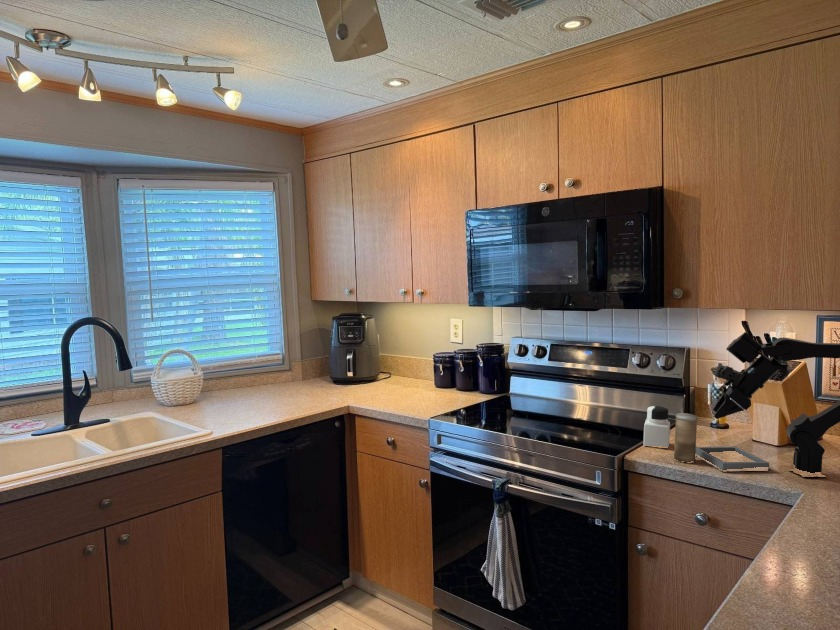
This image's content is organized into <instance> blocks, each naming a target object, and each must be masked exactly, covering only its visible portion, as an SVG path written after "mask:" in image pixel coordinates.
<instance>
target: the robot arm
mask: <svg viewBox="0 0 840 630" xmlns="http://www.w3.org/2000/svg"><path fill="white" fill-rule="evenodd" d="M725 350H726V351H728V352H729V353H730V354H732V356H734V357H735V358H736V359H737V360H738V361H740V362H741V363H742V364H745V363H748V364H750V363H751V364H750V365H749V366H748V367H747V368H744V369H742V370H740V371H738V370H736V369H734V368H733V367H732V366H731V367H730V366H729V365H723V364H720V363H719V364H718V365H717V367H716V369H715V372H714V377H715V378H718V379H723V380H725V381H724V382H723V385H722V390H723V391H722V392H723V393H722V394H721V396H720V398H719V400H717V402H716V403H715V405H714V407H713V408H712V410H713V411H714V412H715V413H714V414H713V418H714V419H715V420H718V419H721V418H724V417H728V416H729V415H733V414H736V413H739V412H743V411H747V410H748V409H749V408H751V407H752V398H753V395H754V394H755V393H756V392H757V391H758V390H759V389H763V388H764V386H765V384H766V383H767V382H768V381H769V380H771V378H773V377H774V376H775V374H777V373H778V372H779V371H780V373H782V374H783V375H785V376H786V375H787V376H788V374H789V373H788V364H787V363H781V362H780V361H785V362H790V361H801V360H805V359H812V358H813V359H814V358H818V359H819V358H820V359H821V358H822V359H840V343H836V342H835V343H834V342H833V343H831V342H829V343H828V342H810V341H805V340H801V339H795V338H790V337H785V336H784V337H783V336H782V337H778V338H776V339H775V340H774V341H773V342H768V343H761V344H760V343H758V341H756V340H755V339H754V338H752V337H751V335H750V334H749V333H747V332H746V331H744V332H743V333H742V334H741V335H739V336H738V337H737V338H735V339H734V340H732V342H731V343H729V344H728V346H727V347H726V349H725ZM761 351H762V352H764V353H765V354H766V355H769V356H770V358H769V357H767V356H766V355H765V354H763V353H762V352H761ZM759 355H760V356H759ZM775 357H776V358H777V359H778V360H777V359H776V358H775ZM779 360H780V361H779ZM839 423H840V400H838V401H837V402H835V403H833V404H832V405H830V406H829V407H826V408H825V409H823V410H822V411H820V412H818V413H817V414H815V415H811V416H810V415H809V416H807V414H806V413H805V412H803V413H802V414H800V415H799V416H798V417H796V418H795V419H790V423H789V424H788V425H787V427H786V431H785V432H786V435H787V437H788V439H789V440H790V442H791V443H792V445H794V447H795V448H794V453H793V463H792V465H793V464H794V465H795V468H797V469H799V470H802V471H807V472H810V473H815V472H822V471H823V457H824V454H825V452H826V450H825V448H824V447H823V446H822V444H821V442H819V440H821V438H822V437H823V436H825V434H826V433H827V431H828V430H829V429H830V428H832V427H834V426H836V425H838V424H839Z"/></svg>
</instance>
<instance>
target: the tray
mask: <svg viewBox="0 0 840 630" xmlns="http://www.w3.org/2000/svg"><path fill="white" fill-rule="evenodd" d="M723 451H736V452H738V453H739V454H742V455H743V456H746V457H747V458H749V459H751V460H753V461H755V462H723V461H722V460H720V459H718V458H716V457H714V456H712V455H711V454H709V453H710V452H723ZM695 454H697V455H699V456H700V457H702V458H704V459H705V460H707V461H709V462H711V463H712V464H714V465H716V466H717V467H719V468H720V469H722V470H727V469H743V468H754V467H755V468H756V467H769V468H770V462H768V461H767V460H764V459H762V458H760V457H758V456H756V455H754V454H752V453H750V452H749V451H747V450H744V449H741V448H740V447H738V446H696V453H695Z"/></svg>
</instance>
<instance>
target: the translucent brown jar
mask: <svg viewBox="0 0 840 630" xmlns="http://www.w3.org/2000/svg"><path fill="white" fill-rule="evenodd" d="M697 426H698V416H697V415H695V414H691V413H685V412H684V413H682V412H679V413H676V414H675V433H674V449H673V451H674V452H673V453H674V454H673V455H674V456H673V460H674V459H676V460H678V461H684V462H691V461H694V460H695V461H696V457H695V453H696V447H697V432H698V431H697Z"/></svg>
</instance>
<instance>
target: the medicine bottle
mask: <svg viewBox="0 0 840 630" xmlns="http://www.w3.org/2000/svg"><path fill="white" fill-rule="evenodd" d="M646 411H647V412H646V413H647V414H646V419H645V422H644V426H643V444H642V445H645V446H662V447H669V448H670V433H671V422H670V421H669V409H668V408H666V407H664V406H660V405H652V406H651V405H650V406H649V407H647V409H646Z"/></svg>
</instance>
